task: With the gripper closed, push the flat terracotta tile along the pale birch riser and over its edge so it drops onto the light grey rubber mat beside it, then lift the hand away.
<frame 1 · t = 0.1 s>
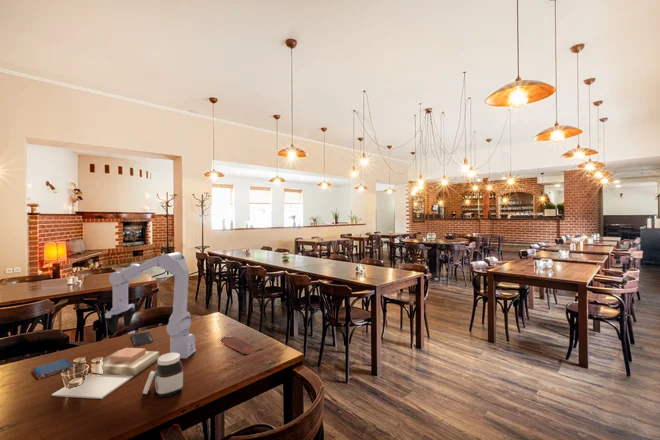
hand: (120, 329, 137), 10 cm above the table, tool pointing down, fingers open, 7 cm apart
tile: (128, 357, 125), point 3 cm above the table, touching riser
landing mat: (94, 385, 109), on the table
spread jar: (162, 392, 105), on the table
riser: (126, 365, 124), on the table
phone: (141, 340, 151), on the table
woven mat: (52, 372, 120), on the table
wooden tablet: (238, 345, 145), on the table
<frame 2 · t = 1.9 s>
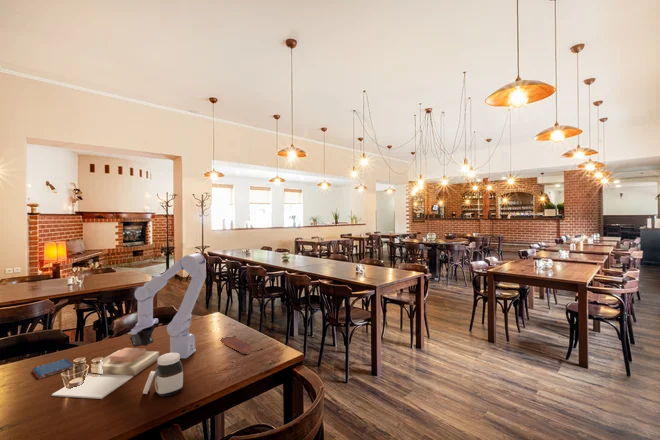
hand: (145, 344, 135), 4 cm above the table, tool pointing down, fingers closed
nothing on the table moved.
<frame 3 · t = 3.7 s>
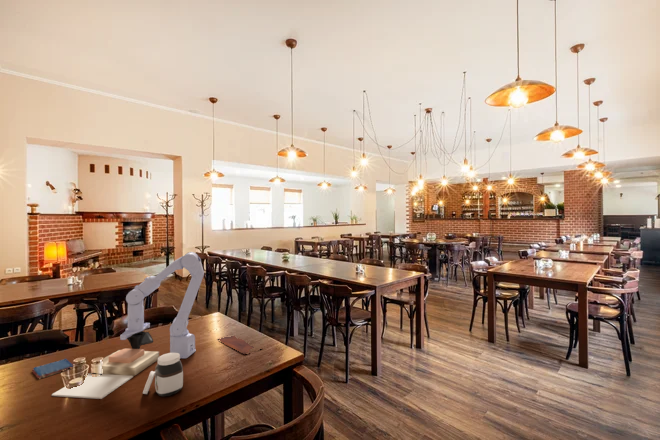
hand: (135, 350, 129), 4 cm above the table, tool pointing down, fingers closed
tile: (127, 357, 124), point 3 cm above the table, touching gripper, riser
everything else where it was.
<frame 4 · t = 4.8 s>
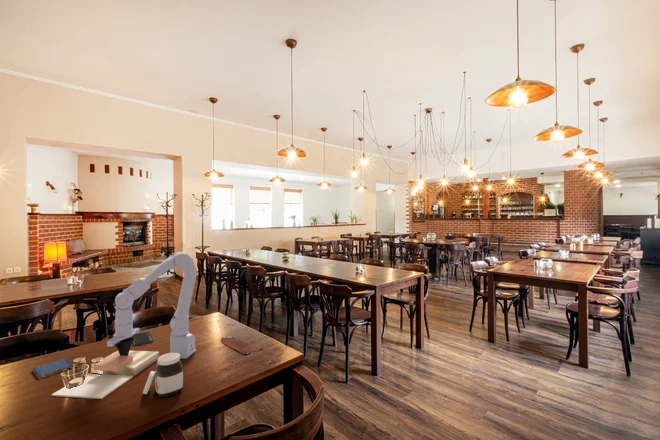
hand: (124, 357, 123), 4 cm above the table, tool pointing down, fingers closed
tile: (114, 365, 118), point 3 cm above the table, touching gripper
everything else where it was.
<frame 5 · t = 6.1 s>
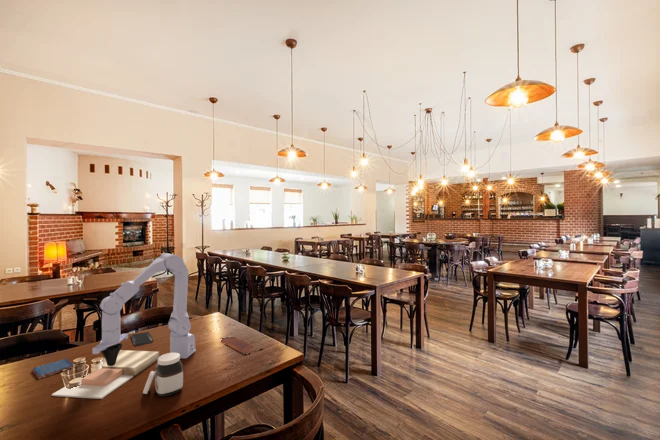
hand: (111, 365, 116), 4 cm above the table, tool pointing down, fingers closed
tile: (102, 379, 112), resting on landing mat
everything else where it was.
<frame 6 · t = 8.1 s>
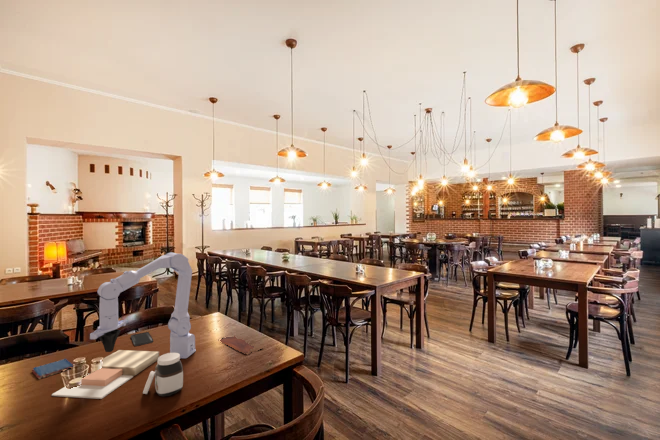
hand: (109, 351, 116), 9 cm above the table, tool pointing down, fingers closed
nothing on the table moved.
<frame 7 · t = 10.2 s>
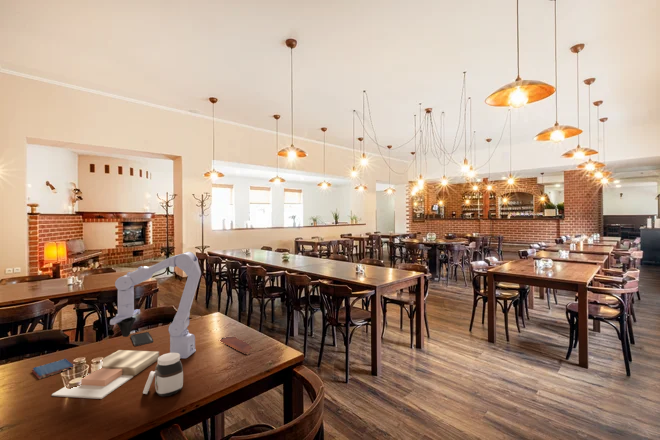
hand: (126, 336, 130), 9 cm above the table, tool pointing down, fingers closed
nothing on the table moved.
at the end: tile inside the target area (3.4 cm from its centre), point 0.5 cm above the table; tile tilted 0°; tile touching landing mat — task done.
